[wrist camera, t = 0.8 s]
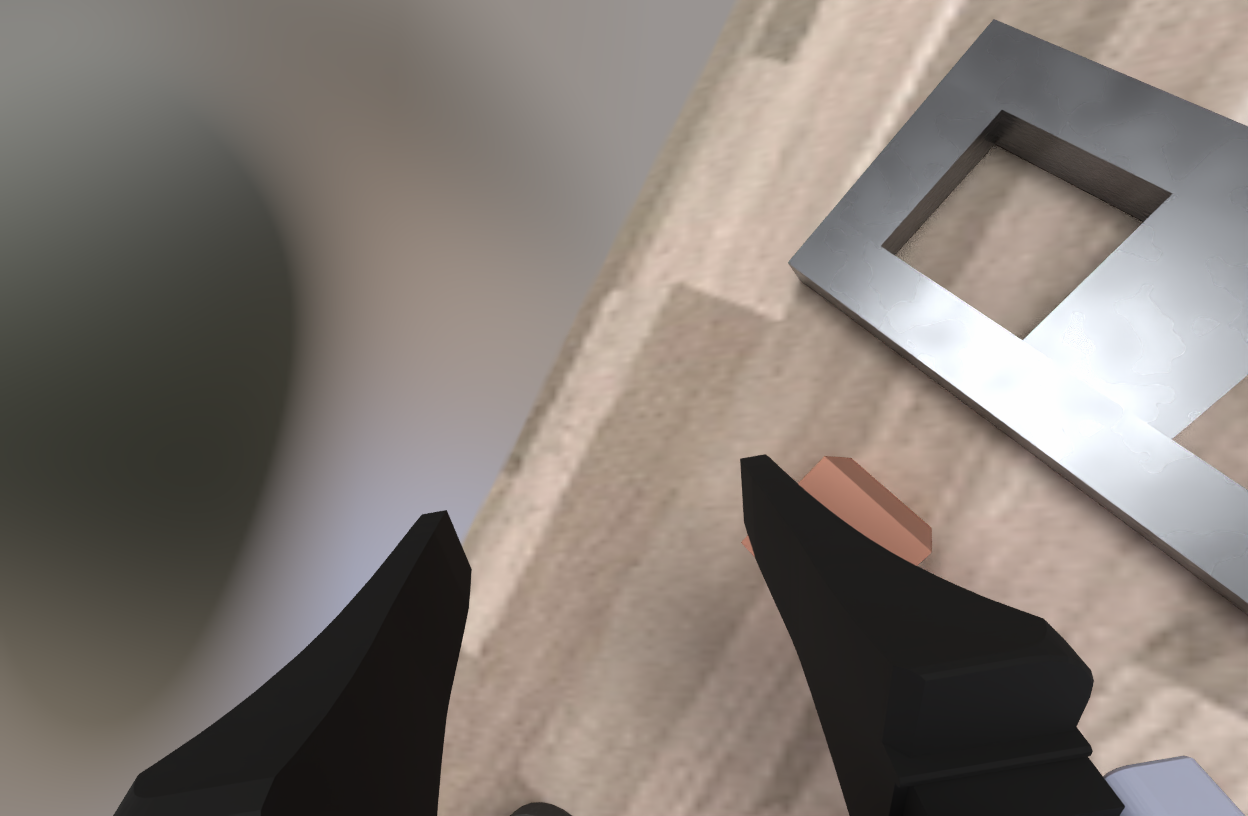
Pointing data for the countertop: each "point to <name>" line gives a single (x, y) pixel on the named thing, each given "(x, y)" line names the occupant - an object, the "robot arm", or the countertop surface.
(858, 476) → the square block
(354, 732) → the robot arm
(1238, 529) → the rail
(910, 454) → the countertop surface
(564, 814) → the flashlight
